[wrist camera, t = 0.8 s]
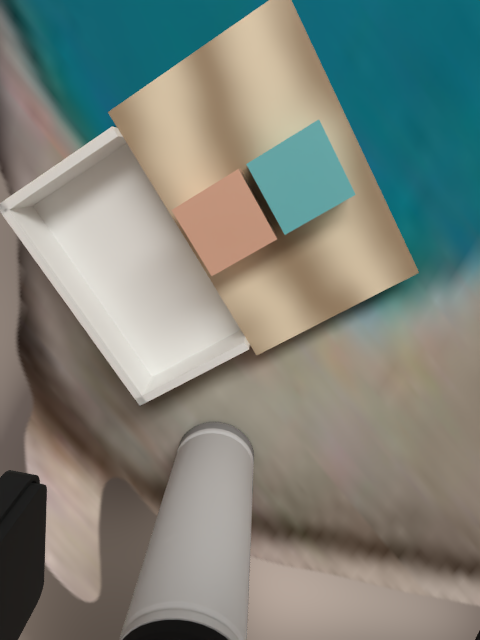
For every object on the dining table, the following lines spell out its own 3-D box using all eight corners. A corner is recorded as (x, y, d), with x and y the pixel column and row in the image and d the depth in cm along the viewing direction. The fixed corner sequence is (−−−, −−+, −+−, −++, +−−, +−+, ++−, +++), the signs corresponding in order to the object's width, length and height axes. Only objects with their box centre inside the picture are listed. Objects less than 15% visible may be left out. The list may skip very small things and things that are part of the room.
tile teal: (314, 123, 26) (319, 119, 24) (347, 192, 27) (355, 194, 25) (247, 164, 27) (246, 164, 25) (283, 229, 28) (284, 235, 26)
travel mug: (160, 453, 37) (52, 747, 18) (216, 406, 35) (160, 677, 17) (213, 499, 38) (163, 819, 20) (269, 455, 37) (274, 761, 18)
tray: (129, 131, 29) (112, 126, 26) (250, 331, 33) (249, 349, 30) (24, 201, 31) (-4, 205, 28) (151, 383, 35) (139, 405, 32)
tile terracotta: (240, 168, 27) (238, 168, 25) (276, 233, 28) (277, 239, 26) (179, 206, 28) (171, 210, 26) (216, 267, 29) (211, 276, 27)
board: (284, 4, 26) (285, -12, 24) (407, 264, 31) (418, 272, 29) (120, 116, 29) (108, 112, 27) (257, 342, 34) (256, 355, 31)
